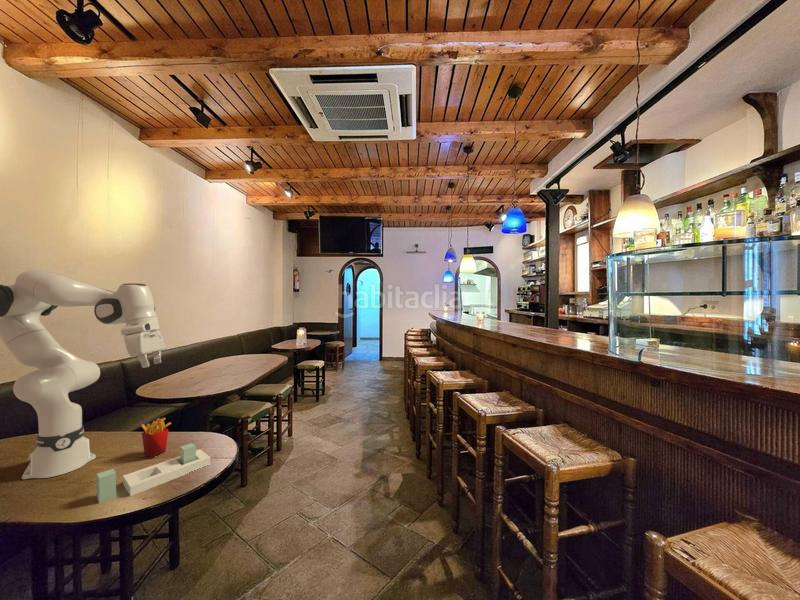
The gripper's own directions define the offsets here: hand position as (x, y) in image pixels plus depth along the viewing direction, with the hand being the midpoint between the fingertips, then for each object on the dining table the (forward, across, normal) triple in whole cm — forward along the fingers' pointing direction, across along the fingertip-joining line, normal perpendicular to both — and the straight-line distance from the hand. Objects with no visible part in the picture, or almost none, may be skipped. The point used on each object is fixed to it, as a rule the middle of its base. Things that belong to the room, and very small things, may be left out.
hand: (152, 365), depth 110 cm
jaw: (+38, +4, -19) cm, 43 cm away
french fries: (+38, -23, -13) cm, 46 cm away
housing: (+41, -6, -4) cm, 41 cm away
